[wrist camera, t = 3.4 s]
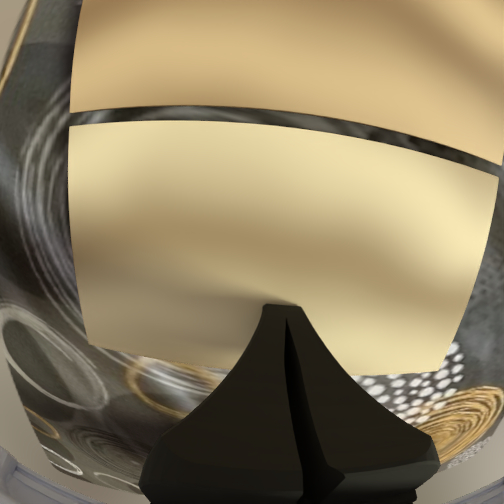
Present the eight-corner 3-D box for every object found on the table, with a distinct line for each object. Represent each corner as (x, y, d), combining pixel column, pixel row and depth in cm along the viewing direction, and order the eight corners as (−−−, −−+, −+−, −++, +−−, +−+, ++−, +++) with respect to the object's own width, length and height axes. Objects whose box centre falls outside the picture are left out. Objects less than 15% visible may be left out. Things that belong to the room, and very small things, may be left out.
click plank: (426, 352, 13) (438, 370, 11) (102, 326, 13) (88, 344, 11) (477, 172, 10) (498, 177, 8) (90, 127, 10) (69, 126, 8)
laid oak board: (480, 158, 9) (501, 165, 8) (91, 111, 10) (69, 113, 8) (484, 0, 6) (503, -6, 5) (117, -53, 6) (101, -65, 5)
